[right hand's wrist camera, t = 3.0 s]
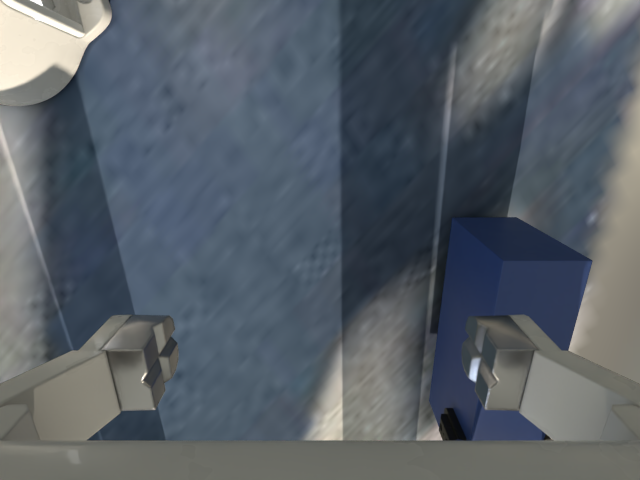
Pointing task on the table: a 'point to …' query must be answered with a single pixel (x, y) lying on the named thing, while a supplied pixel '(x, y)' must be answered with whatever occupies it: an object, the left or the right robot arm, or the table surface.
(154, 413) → the table surface
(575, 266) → the box
